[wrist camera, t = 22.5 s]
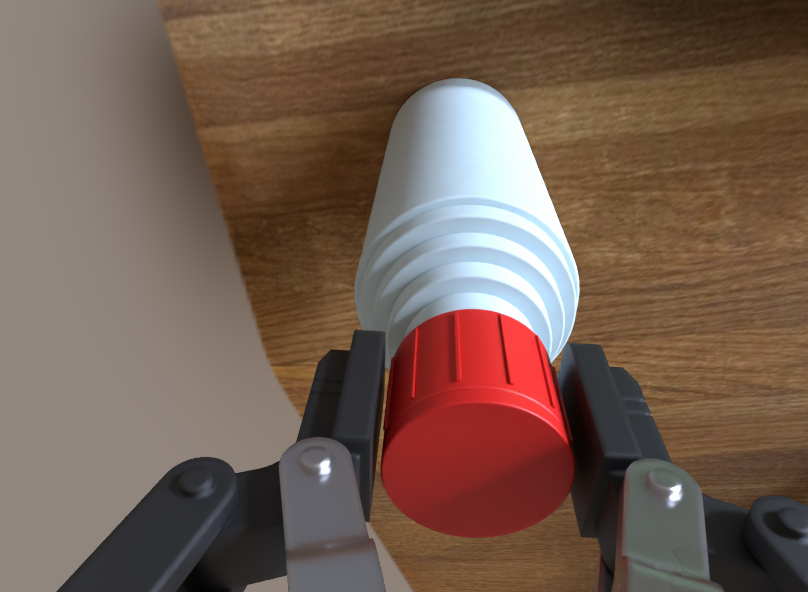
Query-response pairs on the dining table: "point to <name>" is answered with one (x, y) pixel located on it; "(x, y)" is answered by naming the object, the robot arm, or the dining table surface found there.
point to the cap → (475, 427)
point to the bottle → (463, 222)
